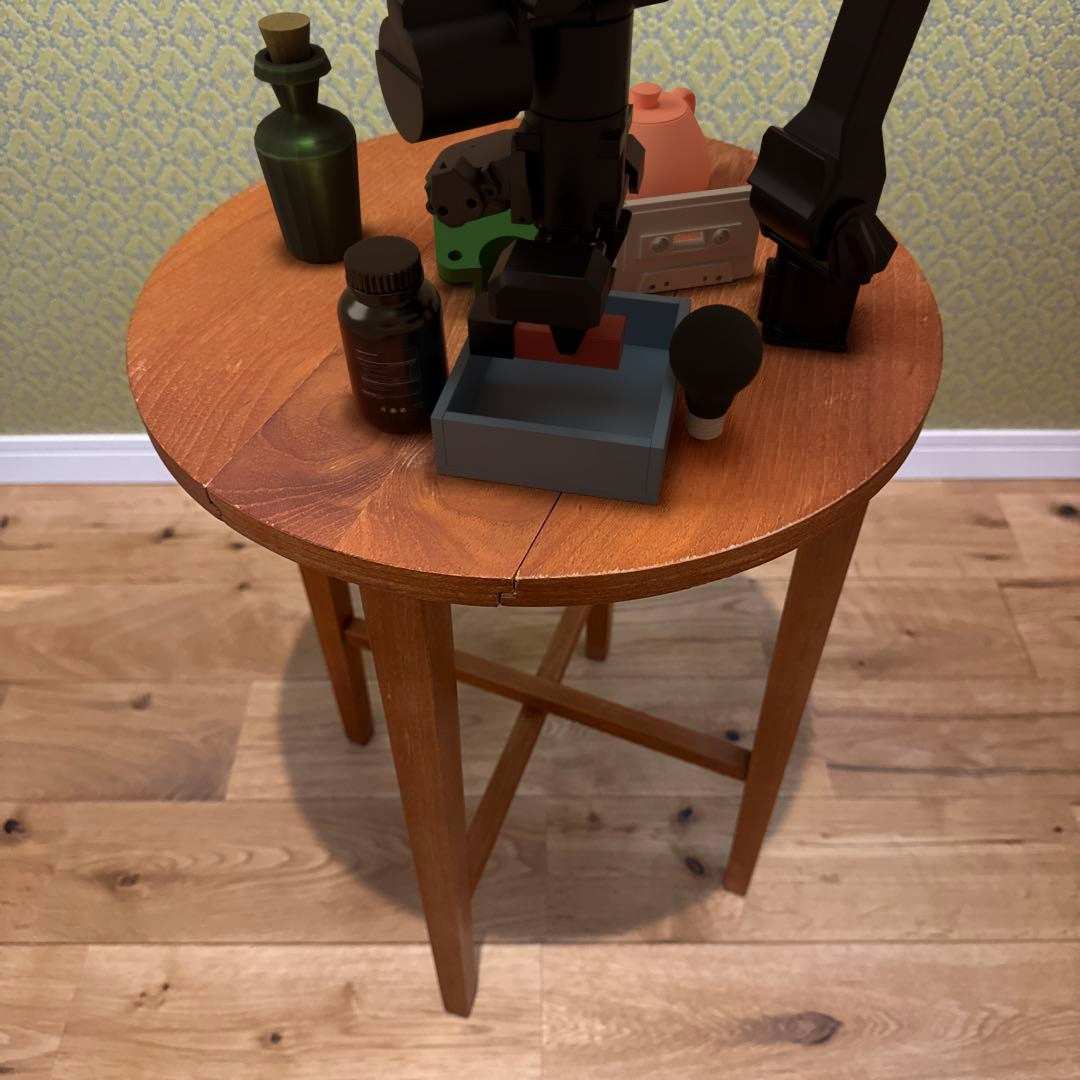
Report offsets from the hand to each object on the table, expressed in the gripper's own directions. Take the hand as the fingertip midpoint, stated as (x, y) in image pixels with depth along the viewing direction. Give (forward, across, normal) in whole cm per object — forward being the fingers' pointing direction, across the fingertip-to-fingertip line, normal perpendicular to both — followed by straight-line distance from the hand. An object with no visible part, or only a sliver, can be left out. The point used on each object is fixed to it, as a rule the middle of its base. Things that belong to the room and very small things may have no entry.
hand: (571, 339), depth 64 cm
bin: (+6, 0, 0) cm, 6 cm away
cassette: (+6, -18, +6) cm, 20 cm away
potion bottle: (+6, -18, -25) cm, 31 cm away
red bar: (+1, 0, -2) cm, 2 cm away
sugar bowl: (+6, -32, +1) cm, 33 cm away
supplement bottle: (+6, +2, -12) cm, 13 cm away
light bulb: (+6, +1, +9) cm, 11 cm away
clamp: (+6, -14, -8) cm, 17 cm away
